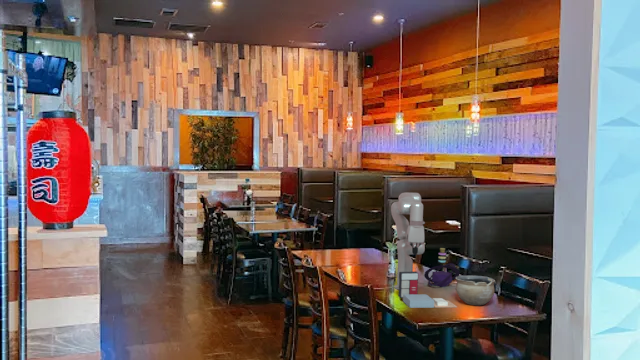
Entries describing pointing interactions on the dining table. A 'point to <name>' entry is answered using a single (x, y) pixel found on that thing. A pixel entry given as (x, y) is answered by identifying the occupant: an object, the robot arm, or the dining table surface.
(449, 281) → the decorative bottle
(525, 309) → the dining table surface
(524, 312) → the dining table surface
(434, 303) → the mat
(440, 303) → the tile
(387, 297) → the dining table surface
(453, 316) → the dining table surface
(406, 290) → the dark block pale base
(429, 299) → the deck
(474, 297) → the ceramic bowl
